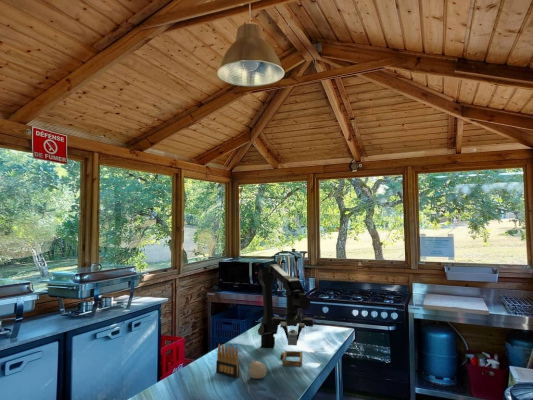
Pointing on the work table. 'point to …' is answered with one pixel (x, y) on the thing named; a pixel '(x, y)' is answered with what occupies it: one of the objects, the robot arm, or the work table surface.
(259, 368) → the garlic bulb
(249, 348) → the work table surface
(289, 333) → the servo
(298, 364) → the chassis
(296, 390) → the work table surface
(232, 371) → the ammunition clip
